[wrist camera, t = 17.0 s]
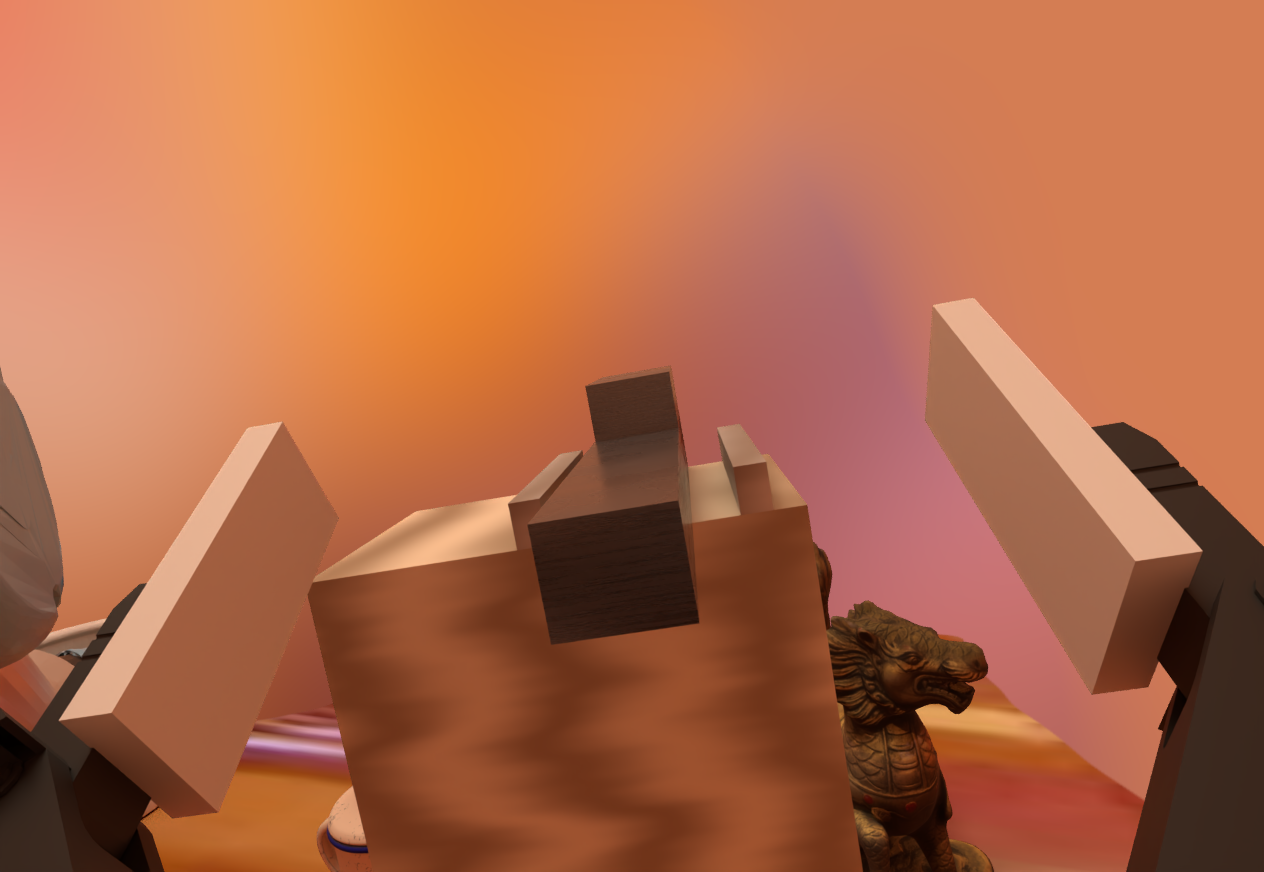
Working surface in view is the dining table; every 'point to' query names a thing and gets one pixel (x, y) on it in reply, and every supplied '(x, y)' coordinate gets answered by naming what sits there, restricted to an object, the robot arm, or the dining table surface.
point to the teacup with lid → (344, 837)
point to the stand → (591, 696)
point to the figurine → (898, 733)
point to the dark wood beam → (621, 519)
